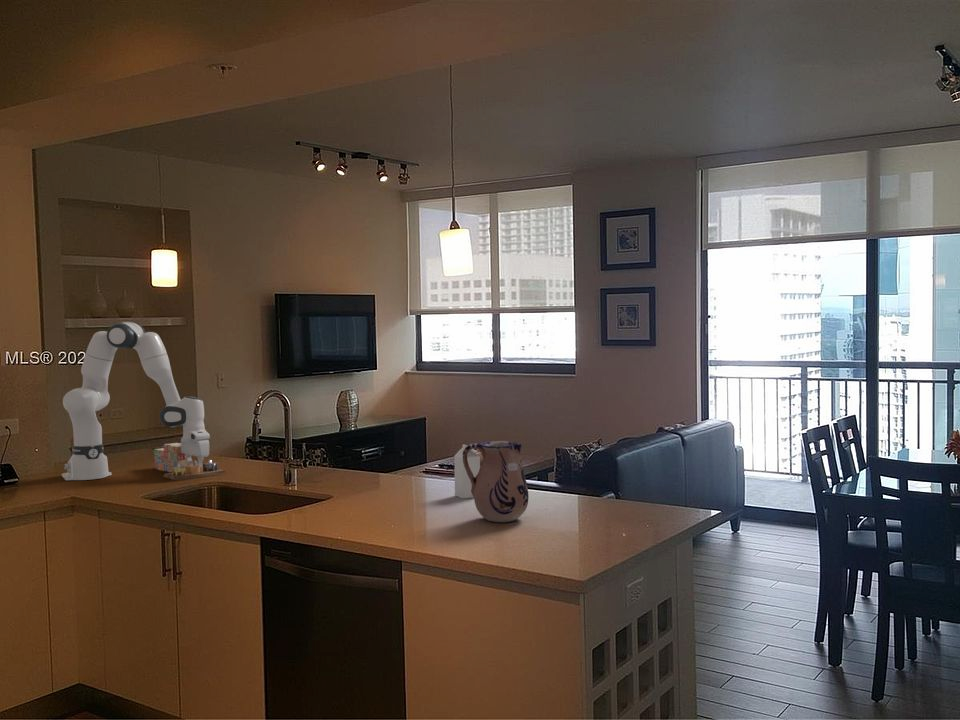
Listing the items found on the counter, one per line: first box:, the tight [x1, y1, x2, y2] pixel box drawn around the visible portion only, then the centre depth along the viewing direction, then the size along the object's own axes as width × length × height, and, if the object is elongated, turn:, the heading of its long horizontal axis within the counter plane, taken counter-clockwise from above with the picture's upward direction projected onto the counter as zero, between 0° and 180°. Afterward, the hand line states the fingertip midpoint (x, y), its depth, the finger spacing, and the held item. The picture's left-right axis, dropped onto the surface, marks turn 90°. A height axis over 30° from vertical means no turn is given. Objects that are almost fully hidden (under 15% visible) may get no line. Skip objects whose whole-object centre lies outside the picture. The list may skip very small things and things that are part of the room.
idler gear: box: [187, 464, 203, 473], centre depth 365 cm, size 6×6×3 cm
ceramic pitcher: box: [463, 440, 530, 523], centre depth 273 cm, size 18×21×25 cm
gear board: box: [163, 460, 226, 481], centre depth 365 cm, size 12×22×6 cm, turn 134°
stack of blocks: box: [153, 442, 188, 473], centre depth 380 cm, size 21×6×12 cm, turn 48°
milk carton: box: [453, 444, 481, 500], centre depth 313 cm, size 7×7×19 cm
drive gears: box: [171, 459, 219, 475], centre depth 365 cm, size 6×20×4 cm, turn 134°
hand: (194, 465), depth 365 cm, fingers open, 8 cm apart
